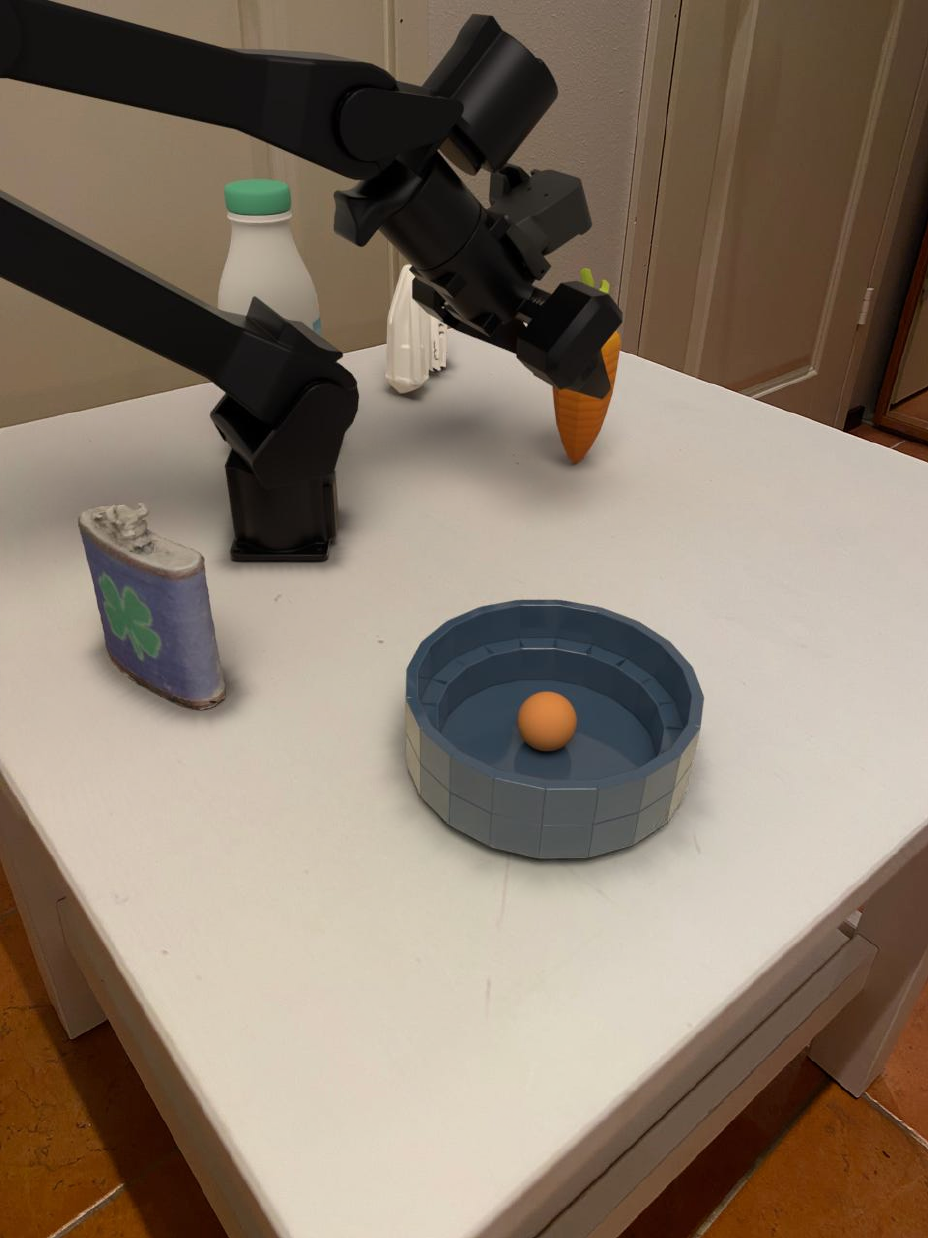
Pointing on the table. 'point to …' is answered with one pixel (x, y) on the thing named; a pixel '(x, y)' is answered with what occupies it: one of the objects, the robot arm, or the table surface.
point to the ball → (547, 721)
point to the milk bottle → (265, 255)
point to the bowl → (588, 764)
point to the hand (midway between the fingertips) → (568, 372)
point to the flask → (153, 606)
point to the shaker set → (412, 339)
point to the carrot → (585, 399)
